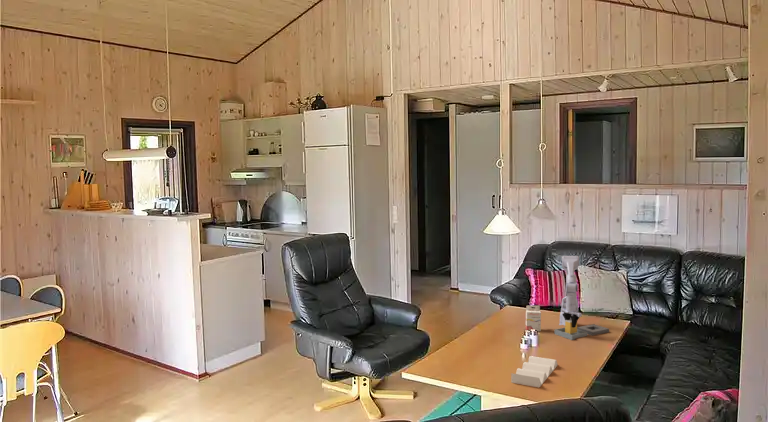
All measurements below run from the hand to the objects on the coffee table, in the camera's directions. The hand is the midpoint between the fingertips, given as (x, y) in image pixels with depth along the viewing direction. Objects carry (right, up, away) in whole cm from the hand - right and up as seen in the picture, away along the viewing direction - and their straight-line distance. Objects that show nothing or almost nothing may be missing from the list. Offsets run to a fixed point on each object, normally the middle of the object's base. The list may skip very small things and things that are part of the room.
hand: (570, 326), depth 355 cm
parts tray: (0, -6, 0) cm, 6 cm away
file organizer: (-36, -12, -61) cm, 72 cm away
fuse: (0, -4, 0) cm, 4 cm away
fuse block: (+15, -5, +6) cm, 17 cm away
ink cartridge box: (-19, -5, +13) cm, 24 cm away
